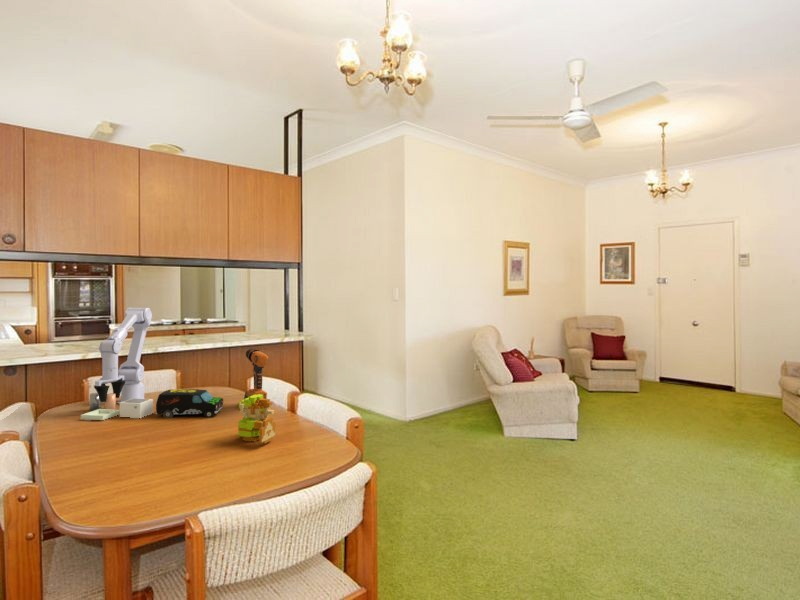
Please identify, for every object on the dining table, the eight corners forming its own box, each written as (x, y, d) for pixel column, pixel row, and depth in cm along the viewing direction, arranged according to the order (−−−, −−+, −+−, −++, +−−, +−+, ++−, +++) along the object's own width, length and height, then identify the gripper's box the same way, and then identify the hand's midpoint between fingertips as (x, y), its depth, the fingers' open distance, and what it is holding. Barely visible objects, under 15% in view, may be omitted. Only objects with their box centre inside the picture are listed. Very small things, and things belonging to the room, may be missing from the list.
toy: (261, 448, 155) (262, 403, 154) (225, 443, 158) (225, 399, 158) (284, 434, 169) (285, 393, 169) (250, 431, 173) (251, 391, 173)
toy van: (216, 417, 191) (217, 393, 191) (154, 418, 189) (154, 393, 189) (224, 411, 201) (224, 388, 201) (165, 411, 199) (165, 388, 199)
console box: (133, 412, 197) (133, 397, 197) (153, 413, 196) (153, 398, 196) (119, 417, 188) (119, 402, 188) (139, 418, 187) (139, 403, 187)
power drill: (239, 400, 220) (239, 347, 220) (254, 398, 225) (255, 347, 224) (253, 410, 203) (253, 353, 202) (269, 408, 207) (270, 352, 206)
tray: (99, 413, 194) (99, 408, 194) (120, 414, 193) (120, 409, 193) (80, 419, 184) (80, 414, 184) (102, 421, 183) (102, 416, 183)
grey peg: (94, 408, 202) (94, 392, 202) (102, 409, 202) (103, 392, 202) (87, 410, 198) (87, 394, 198) (95, 411, 198) (95, 394, 198)
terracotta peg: (109, 409, 201) (109, 393, 201) (117, 409, 201) (117, 393, 201) (102, 411, 197) (102, 395, 197) (110, 412, 197) (111, 395, 197)
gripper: (114, 365, 206) (113, 395, 207) (88, 370, 192) (88, 403, 192) (128, 365, 206) (128, 396, 206) (103, 370, 191) (103, 403, 191)
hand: (110, 399), depth 199 cm, fingers open, 7 cm apart
